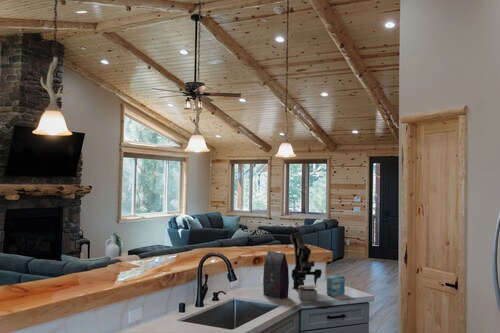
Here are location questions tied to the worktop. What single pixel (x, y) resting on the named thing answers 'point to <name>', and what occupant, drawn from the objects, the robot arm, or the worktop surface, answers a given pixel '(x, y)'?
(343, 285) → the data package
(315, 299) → the storage box
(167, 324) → the worktop surface
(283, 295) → the dark coffee bag
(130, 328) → the worktop surface
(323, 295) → the worktop surface
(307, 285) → the lid
